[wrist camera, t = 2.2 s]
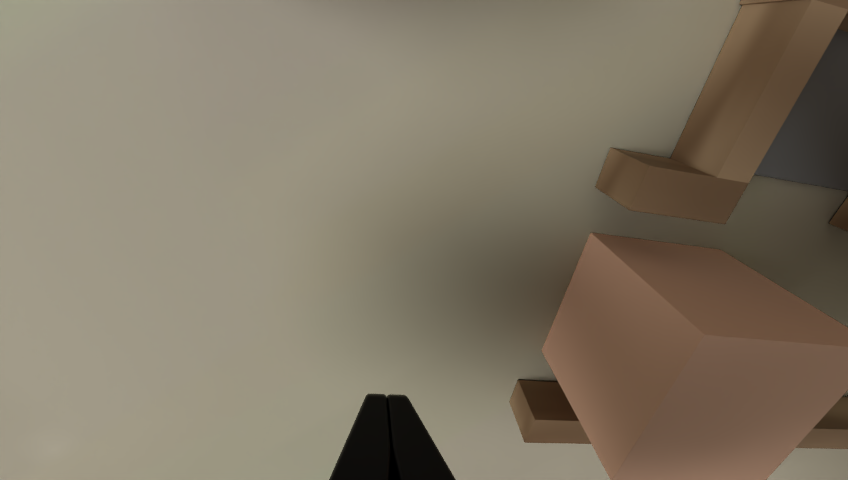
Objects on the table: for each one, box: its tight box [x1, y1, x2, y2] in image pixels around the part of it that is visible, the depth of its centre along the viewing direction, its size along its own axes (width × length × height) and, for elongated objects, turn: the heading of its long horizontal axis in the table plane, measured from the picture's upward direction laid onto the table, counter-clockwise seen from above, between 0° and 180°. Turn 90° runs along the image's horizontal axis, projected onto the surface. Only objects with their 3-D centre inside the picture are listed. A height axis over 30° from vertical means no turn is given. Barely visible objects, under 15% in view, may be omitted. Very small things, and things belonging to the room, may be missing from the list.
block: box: [542, 233, 848, 480], centre depth 12 cm, size 5×5×5 cm
